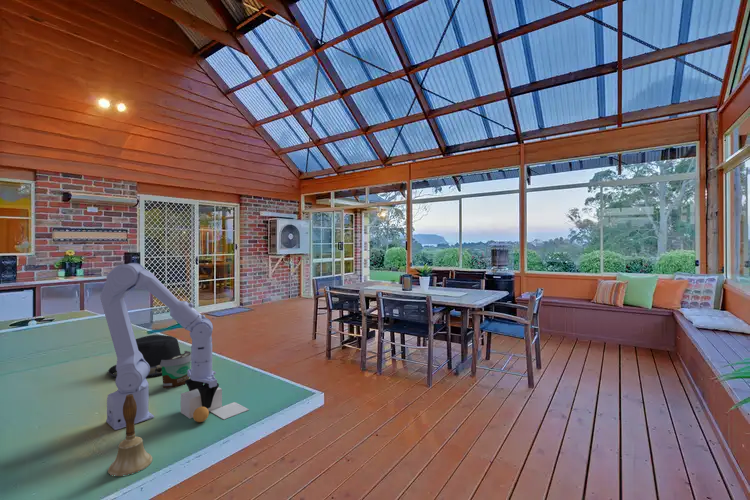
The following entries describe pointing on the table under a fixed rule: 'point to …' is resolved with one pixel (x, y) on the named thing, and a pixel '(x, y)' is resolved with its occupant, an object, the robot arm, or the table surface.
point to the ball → (200, 414)
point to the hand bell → (130, 445)
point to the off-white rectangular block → (198, 401)
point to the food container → (176, 370)
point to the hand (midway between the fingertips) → (201, 405)
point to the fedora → (155, 352)
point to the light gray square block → (229, 410)
